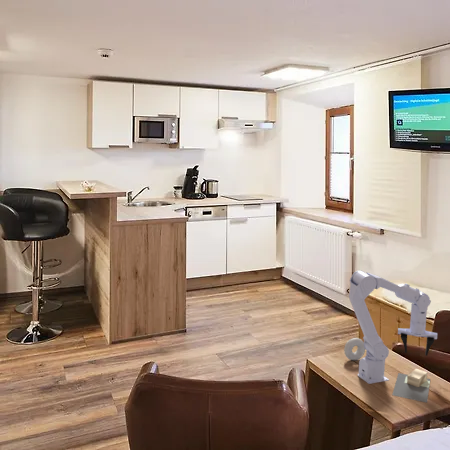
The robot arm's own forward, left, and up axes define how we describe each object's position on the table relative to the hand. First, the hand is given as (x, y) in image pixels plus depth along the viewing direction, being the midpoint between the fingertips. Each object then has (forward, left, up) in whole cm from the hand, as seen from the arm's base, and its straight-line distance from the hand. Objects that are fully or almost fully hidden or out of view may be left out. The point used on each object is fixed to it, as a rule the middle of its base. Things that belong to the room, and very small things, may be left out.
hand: (416, 353), depth 191 cm
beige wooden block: (-4, -6, -9) cm, 11 cm away
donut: (-15, +20, -10) cm, 27 cm away
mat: (-8, -8, -9) cm, 15 cm away
